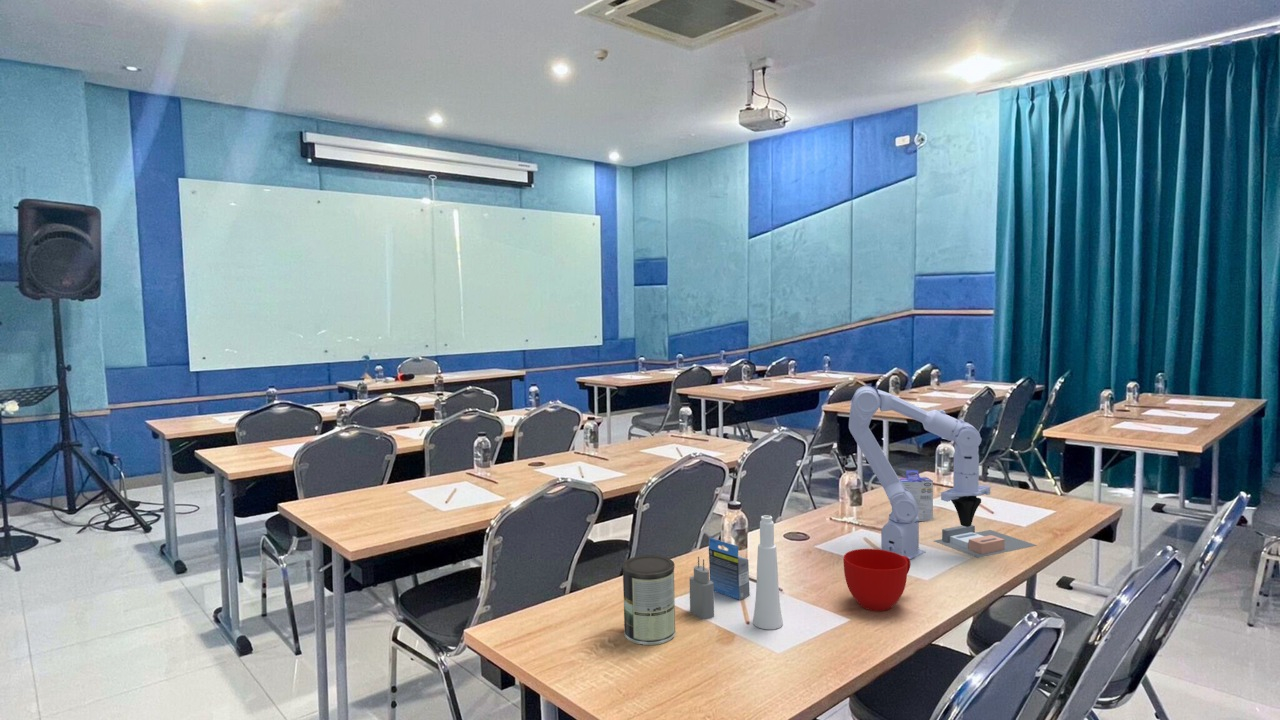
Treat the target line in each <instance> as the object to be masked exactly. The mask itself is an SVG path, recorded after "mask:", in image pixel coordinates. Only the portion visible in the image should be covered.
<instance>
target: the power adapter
mask: <svg viewBox="0 0 1280 720" xmlns="http://www.w3.org/2000/svg"><path fill="white" fill-rule="evenodd" d="M714 592H715V591H714V582H712V581H710V570H709V569H708V568H706V567H705V559H704V558H703V559H702V565H700V556H697V565H694V567H693V576H690V577H689V611H691V612H692V613H691V612H690V613H691V614H693V615H694V614H695V615H694V616H696V617H698V618H699V619H700V620H703V619H704V621H705V620H708V619H709V620H710V619H712V617H713V618H714V617H715V594H714Z"/></svg>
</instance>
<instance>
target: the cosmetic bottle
mask: <svg viewBox="0 0 1280 720" xmlns="http://www.w3.org/2000/svg"><path fill="white" fill-rule="evenodd" d="M760 519H761V520H760V522H759V543H758V545H757V557H756V558H757V560H756V589H755V602H754V609H753V612H754V613H753V617H752V624H753V625H754V626H755V627H756V628H759V629H762V630H778V629H779V628H781V627H783V624H784V622H783V621H784V620H783V616H782V610H781V602H780V589H779V588H780V587H779V571H778V569H779V568H778V555H777V554H778V553H777V545H776V544H775V524H774V522H775V521H773V517H772V515H767V514H765V515H761V516H760Z"/></svg>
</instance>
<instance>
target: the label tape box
mask: <svg viewBox="0 0 1280 720" xmlns="http://www.w3.org/2000/svg"><path fill="white" fill-rule="evenodd" d="M720 547H724V548H725V549H723V548H720ZM726 549H727V550H726ZM708 560H709V562H708V565H709V567H708V568H709V569H708V570H709V580H710V581H712V582H714V592H715V591H716V592H715V593H718V592H719V593H718V594H721V593H722V594H721V595H725V596H727V597H731V598H734V599H737V600H738V599H739V601H741V600H742V599H745V598H747V597H749V596H750V593H751V592H750V571H749V570H750V568H749V566H750V565H749V559H748V558H746V557H742V556H739V545H735V544H733V543H729V542H725V541H722V540H720V539H716V538H713V537H710V536H709V540H708Z"/></svg>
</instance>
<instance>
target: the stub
mask: <svg viewBox="0 0 1280 720" xmlns="http://www.w3.org/2000/svg"><path fill="white" fill-rule="evenodd" d="M1004 549H1005V539H1002V538H999V537H996V536H993V535H989V536H984V537H979V538H974V539H969V550H972V551H975V552H977V553H980V554H985V553H989V552H994V551H999V550H1004Z"/></svg>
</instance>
